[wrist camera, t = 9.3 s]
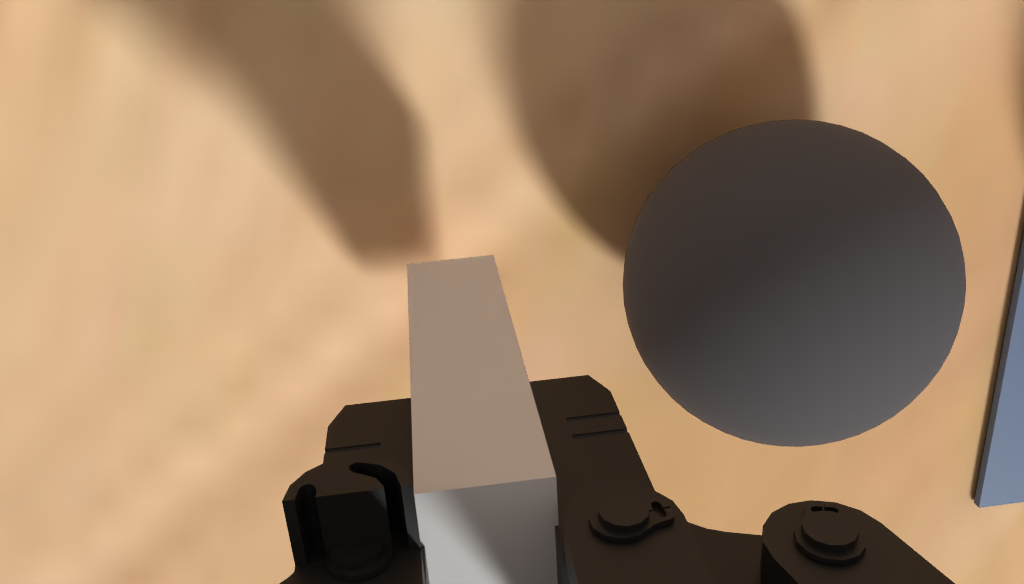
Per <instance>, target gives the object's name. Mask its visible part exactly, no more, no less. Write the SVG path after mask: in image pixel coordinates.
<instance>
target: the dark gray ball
mask: <svg viewBox="0 0 1024 584" xmlns="http://www.w3.org/2000/svg"><path fill="white" fill-rule="evenodd" d="M965 292H966V277H965V263H964V256H963V252H962V247H961V243H960V238H959V235H958V232H957V230H956V227H955V225H954V222H953V220H952V217H951V215H950V213H949V212H948V210H947V208H946V206H945V205H944V203H943V201H942V200H941V198H940V196H939V195H938V193H937V191H936V190H935V189H934V187H933V186H932V185H931V184H930V182H929V181H928V180H927V179H926V177H925V176H924V175H923V174H922V173H921V172H920V171H919V170H918V169H917V168H916V167H915V166H914V165H912V164H911V163H910V162H909V161H908V160H907V159H906V158H904V157H903V156H901V155H900V154H899V153H897V152H896V151H894V150H893V149H891V148H890V147H888V146H887V145H885V144H884V143H882V142H880V141H878V140H876V139H874V138H872V137H870V136H868V135H866V134H864V133H862V132H859V131H856V130H853V129H850V128H847V127H844V126H841V125H836V124H831V123H826V122H821V121H810V120H782V121H771V122H765V123H760V124H755V125H750V126H747V127H744V128H741V129H738V130H734V131H731V132H729V133H726V134H724V135H722V136H720V137H718V138H716V139H713V140H711V141H709V142H708V143H706V144H704V145H703V146H701V147H700V148H698V149H696V150H695V151H693V152H692V153H690V154H689V155H688V156H687V157H685V158H684V159H683V160H682V161H680V162H679V163H678V164H677V165H676V166H674V167H673V168H672V170H671V171H670V172H669V173H668V174H667V175H666V176H665V177H664V178H663V179H662V180H661V181H660V182H659V184H658V185H657V187H656V188H655V189H654V191H653V192H652V193H651V195H650V196H649V198H648V199H647V201H646V203H645V205H644V207H643V209H642V210H641V212H640V214H639V216H638V218H637V220H636V222H635V225H634V228H633V230H632V233H631V236H630V238H629V242H628V247H627V251H626V256H625V263H624V275H623V294H624V306H625V311H626V316H627V321H628V324H629V328H630V331H631V333H632V336H633V339H634V342H635V345H636V348H637V349H638V351H639V353H640V355H641V357H642V359H643V361H644V363H645V365H646V366H647V368H648V369H649V370H650V372H651V373H652V375H653V376H654V378H655V379H656V380H657V382H658V383H659V384H660V385H661V386H662V388H663V389H664V390H665V391H666V392H667V393H668V394H669V395H670V396H671V397H672V399H674V400H675V401H676V402H677V403H678V404H679V405H681V406H682V407H683V408H684V409H685V410H686V411H688V412H689V413H691V414H692V415H694V416H695V417H697V418H698V419H700V420H701V421H703V422H705V423H707V424H709V425H711V426H713V427H715V428H717V429H718V430H720V431H722V432H724V433H727V434H730V435H733V436H735V437H738V438H741V439H744V440H748V441H752V442H756V443H760V444H767V445H775V446H796V447H801V446H812V445H821V444H826V443H831V442H836V441H840V440H843V439H847V438H850V437H853V436H856V435H859V434H861V433H863V432H866V431H868V430H870V429H872V428H874V427H877V426H878V425H880V424H882V423H883V422H885V421H887V420H888V419H890V418H892V417H893V416H895V415H896V414H897V413H899V412H900V411H901V410H902V409H904V408H905V407H906V406H908V405H909V404H910V403H911V402H912V401H913V400H914V399H915V398H916V397H917V396H918V395H919V394H920V393H921V392H922V391H923V390H924V389H925V388H926V387H927V385H928V384H929V383H930V382H931V380H932V379H933V378H934V376H935V375H936V374H937V373H938V371H939V370H940V368H941V367H942V365H943V363H944V361H945V360H946V358H947V356H948V354H949V353H950V350H951V348H952V345H953V343H954V341H955V338H956V336H957V333H958V329H959V326H960V321H961V317H962V313H963V309H964V303H965Z"/></svg>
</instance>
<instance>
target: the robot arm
mask: <svg viewBox="0 0 1024 584" xmlns="http://www.w3.org/2000/svg"><path fill="white" fill-rule="evenodd" d="M407 278H408V312H409V346H410V381H411V398H406V399H398V400H389V401H380V402H372V403H363V404H354V405H346V406H345V407H344V408H343V409H342V410H341V411H340V413H339V414H338V415H337V416H336V418H335V419H334V420H333V421H332V422H331V424H330V425H329V426H328V431H327V438H326V446H325V454H324V461H323V464H321V465H319V466H317V467H315V468H313V469H311V470H309V471H307V472H305V473H304V474H303V475H302V476H301V477H299V478H298V479H297V480H296V481H295V482H294V483H292V484H291V485H290V486H289V488H288V490H287V492H286V494H285V496H284V498H283V500H282V503H283V508H284V513H285V518H286V523H287V527H288V532H289V537H290V542H291V547H292V552H293V557H294V562H295V571H294V573H293V574H292V575H291V576H290V577H289V578H287V579H286V580H284V581H283V582H281V583H280V584H955V583H953V582H952V581H951V580H950V579H949V578H947V577H946V576H945V575H944V574H942V573H941V572H940V571H939V570H938V569H936V568H935V567H934V566H933V565H932V564H930V563H929V562H928V561H927V560H925V559H924V558H923V557H922V556H921V555H919V554H918V553H917V552H916V551H914V550H913V549H912V548H911V547H910V546H908V545H907V544H906V543H905V542H903V541H902V540H901V539H900V538H899V537H897V536H896V535H895V534H894V533H893V532H891V531H890V530H889V529H888V528H886V527H885V526H884V525H883V524H882V523H880V522H879V521H877V520H875V519H874V518H872V517H870V516H869V515H867V514H865V513H864V512H862V511H860V510H857V509H854V508H851V507H848V506H845V505H842V504H839V503H834V502H823V501H812V500H810V501H804V502H798V503H791V504H788V505H786V506H784V507H782V508H780V509H778V510H776V511H774V512H772V513H771V515H770V516H769V518H768V519H767V521H766V522H765V524H764V525H763V532H762V535H752V534H742V533H731V532H723V531H717V530H711V529H706V528H703V527H700V526H697V525H694V524H691V523H689V522H687V521H686V518H685V516H684V514H683V513H682V512H681V511H680V509H679V508H678V507H677V506H676V504H675V503H674V502H673V501H672V500H670V499H668V498H667V497H665V496H663V495H661V494H660V493H658V492H656V491H655V490H654V488H653V486H652V483H651V481H650V479H649V477H648V475H647V472H646V470H645V468H644V466H643V463H642V461H641V459H640V457H639V454H638V452H637V450H636V448H635V445H634V443H633V441H632V439H631V437H630V434H629V433H627V428H626V425H625V423H624V421H623V419H622V416H620V414H619V410H618V407H617V405H616V403H615V401H614V399H613V396H612V394H611V392H610V391H609V390H608V389H607V388H605V387H604V386H603V385H601V384H600V383H598V382H597V381H596V380H594V379H593V378H592V377H590V376H589V375H585V376H576V377H567V378H559V379H550V380H541V381H533V382H529V379H528V375H527V372H526V368H525V365H524V361H523V358H522V354H521V351H520V347H519V344H518V340H517V336H516V333H515V329H514V326H513V322H512V319H511V315H510V312H509V308H508V305H507V301H506V298H505V294H504V291H503V287H502V284H501V280H500V277H499V273H498V269H497V266H496V262H495V259H494V255H490V256H480V257H470V258H460V259H450V260H440V261H431V262H421V263H411V264H407Z"/></svg>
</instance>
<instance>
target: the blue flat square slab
mask: <svg viewBox="0 0 1024 584" xmlns="http://www.w3.org/2000/svg"><path fill="white" fill-rule="evenodd" d="M1019 502H1024V234H1023V240H1022V245H1021V250H1020V256H1019V261H1018V267H1017V272H1016V278H1015V283H1014V288H1013V294H1012V299H1011V305H1010V310H1009V316H1008V321H1007V326H1006V332H1005V337H1004V343H1003V348H1002V354H1001V359H1000V364H999V370H998V375H997V381H996V386H995V392H994V397H993V402H992V408H991V413H990V419H989V424H988V430H987V435H986V440H985V446H984V451H983V457H982V462H981V467H980V473H979V478H978V484H977V489H976V495H975V500H974V503H975V504H976V505H977V506H978V507H979V508H981V507H989V506H996V505H1004V504H1011V503H1019Z"/></svg>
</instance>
